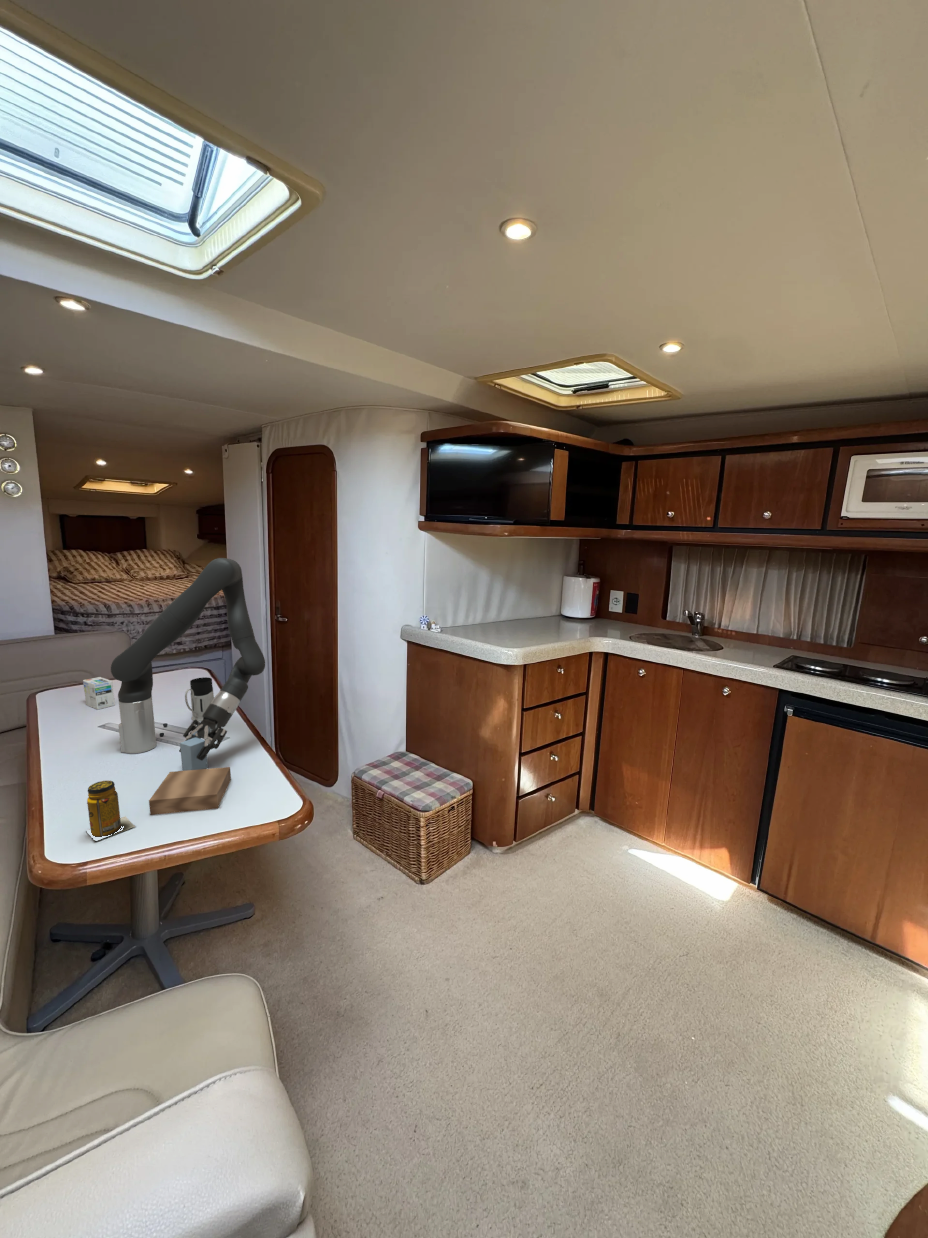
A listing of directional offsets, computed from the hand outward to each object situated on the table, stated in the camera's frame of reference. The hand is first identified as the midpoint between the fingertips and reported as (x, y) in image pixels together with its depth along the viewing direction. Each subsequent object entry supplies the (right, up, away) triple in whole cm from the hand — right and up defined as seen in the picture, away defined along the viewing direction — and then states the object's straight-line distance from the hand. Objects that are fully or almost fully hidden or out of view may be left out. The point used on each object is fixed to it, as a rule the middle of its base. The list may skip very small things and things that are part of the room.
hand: (190, 756), depth 154 cm
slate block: (0, -5, +2) cm, 5 cm away
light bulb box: (-67, +6, +56) cm, 88 cm away
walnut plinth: (+8, -7, -14) cm, 17 cm away
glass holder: (-19, +2, +42) cm, 46 cm away
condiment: (-4, -10, -29) cm, 31 cm away
